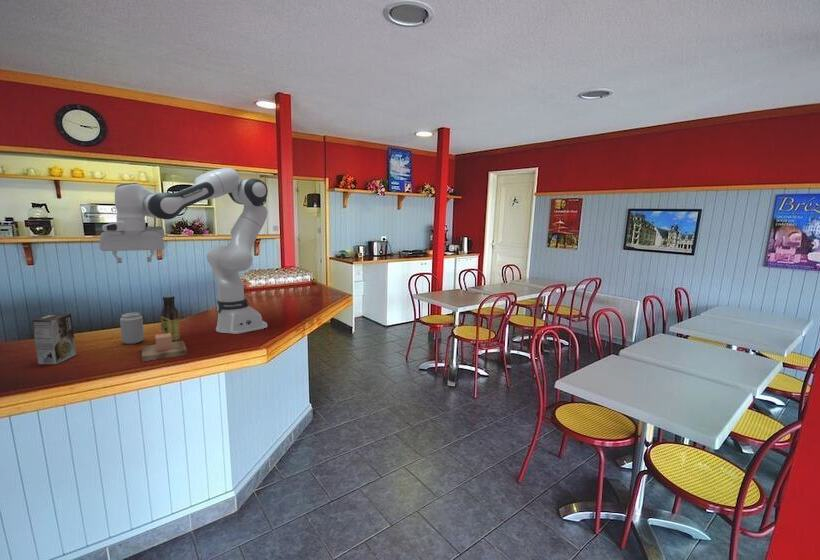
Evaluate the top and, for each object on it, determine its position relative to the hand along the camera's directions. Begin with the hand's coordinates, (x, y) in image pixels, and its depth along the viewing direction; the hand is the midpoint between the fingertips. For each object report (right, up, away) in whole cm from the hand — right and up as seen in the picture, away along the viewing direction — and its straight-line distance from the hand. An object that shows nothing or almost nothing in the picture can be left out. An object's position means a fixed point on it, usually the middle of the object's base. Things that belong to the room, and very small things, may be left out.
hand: (134, 262), depth 147 cm
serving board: (+12, -35, -1) cm, 37 cm away
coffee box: (-20, -36, -10) cm, 43 cm away
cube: (+12, -33, -1) cm, 35 cm away
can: (-8, -33, +10) cm, 35 cm away
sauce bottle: (+7, -33, +11) cm, 36 cm away
